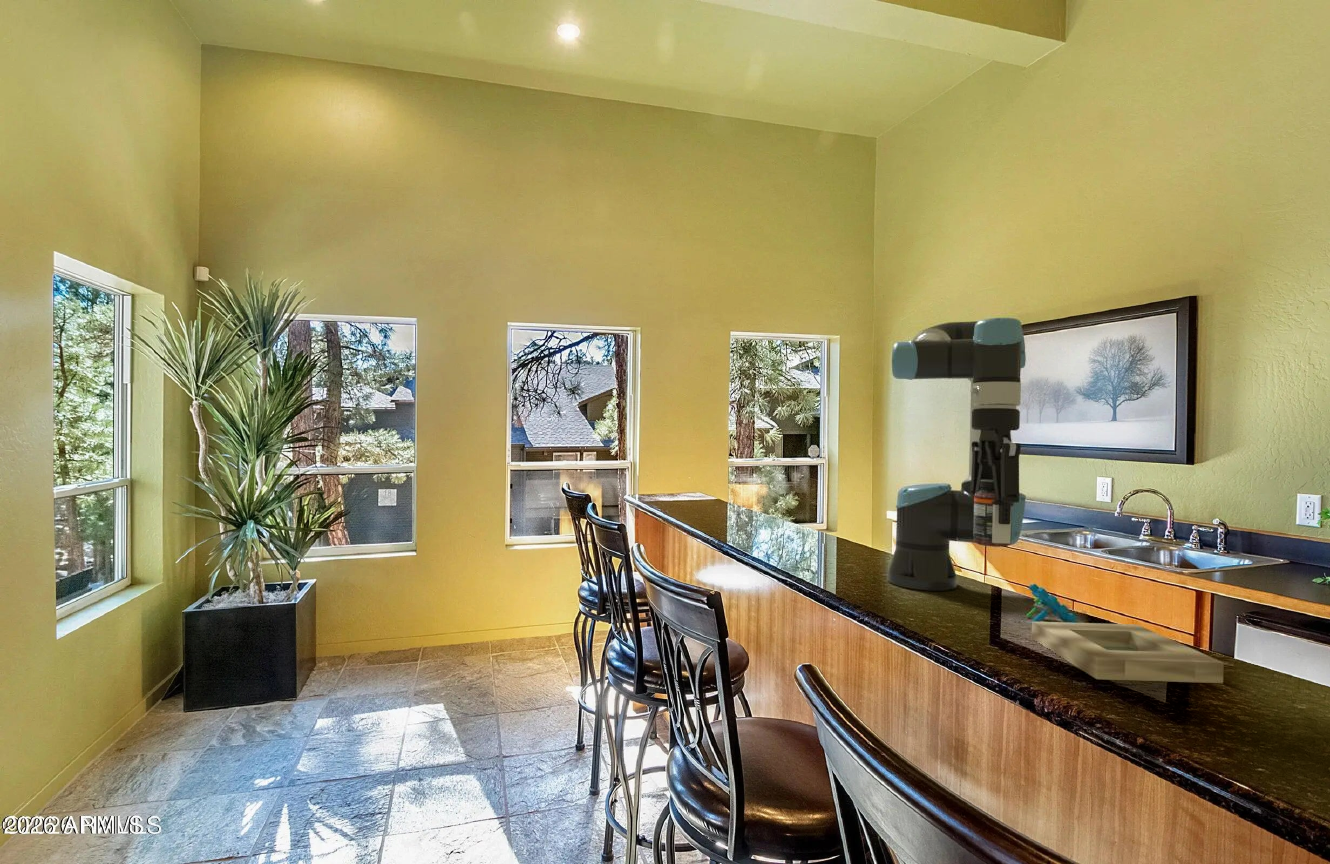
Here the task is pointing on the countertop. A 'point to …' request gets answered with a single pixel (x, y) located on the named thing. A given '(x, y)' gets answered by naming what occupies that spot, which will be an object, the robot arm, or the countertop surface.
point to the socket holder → (1126, 652)
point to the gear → (1048, 606)
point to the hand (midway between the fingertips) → (992, 539)
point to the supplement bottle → (985, 514)
